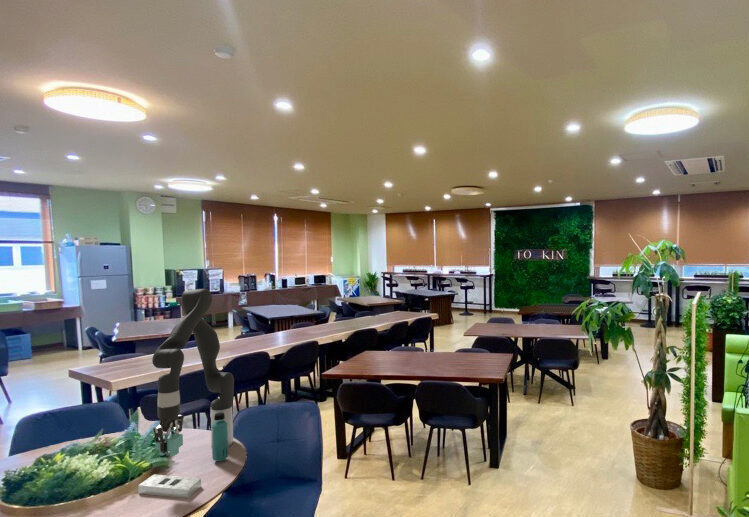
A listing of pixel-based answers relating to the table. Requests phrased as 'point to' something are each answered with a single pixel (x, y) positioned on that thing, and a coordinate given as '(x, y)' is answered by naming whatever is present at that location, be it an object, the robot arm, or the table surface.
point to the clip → (172, 444)
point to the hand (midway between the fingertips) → (169, 448)
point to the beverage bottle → (219, 438)
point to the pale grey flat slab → (169, 486)
